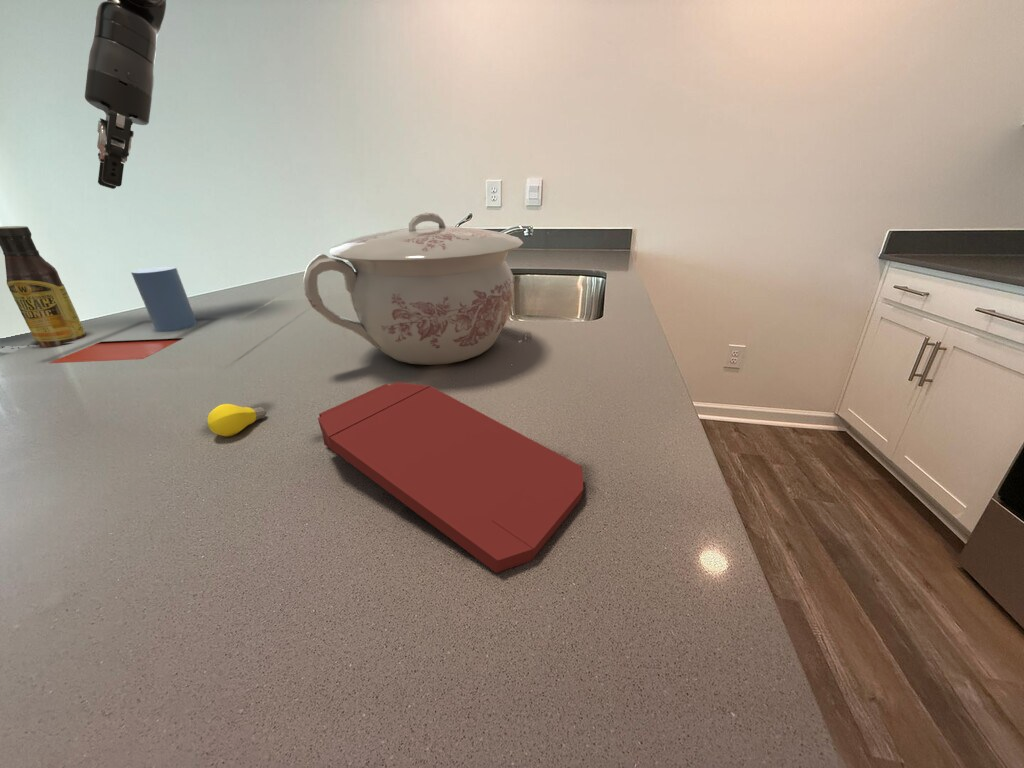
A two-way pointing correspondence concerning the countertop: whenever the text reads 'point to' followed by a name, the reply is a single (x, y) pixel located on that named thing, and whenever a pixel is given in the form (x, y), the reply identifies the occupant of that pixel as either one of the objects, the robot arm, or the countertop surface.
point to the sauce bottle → (38, 290)
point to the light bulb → (232, 418)
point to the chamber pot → (423, 289)
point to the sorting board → (118, 350)
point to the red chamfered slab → (457, 469)
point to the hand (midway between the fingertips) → (108, 185)
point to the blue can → (164, 298)
